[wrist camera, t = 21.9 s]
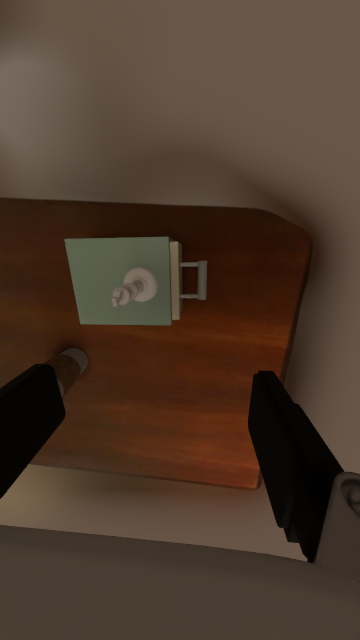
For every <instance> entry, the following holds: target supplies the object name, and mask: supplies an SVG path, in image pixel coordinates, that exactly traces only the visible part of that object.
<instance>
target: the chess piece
mask: <svg viewBox="0 0 360 640" xmlns="http://www.w3.org/2000/svg"><path fill="white" fill-rule="evenodd" d="M157 289H158V282H157V279H156V277H155V275H154V274H153V273H152V272H151V271H150V270H149V269H147V268H143V267H136V268H133V269H131V270H130V271H129V272H128V273H127V274H126V276H125V278H124V282H123V285H122V286H121V287H117V288H115V289H114V291H113V294H112V296H113V298H112V301H111V302H113V306H114V307H118V305H126V304H128V303H129V302H130V301H132V300H135V301H139V302H144V301H148V300H150V299H151V298H153V297H154V296H155V294H156V292H157Z"/></svg>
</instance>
